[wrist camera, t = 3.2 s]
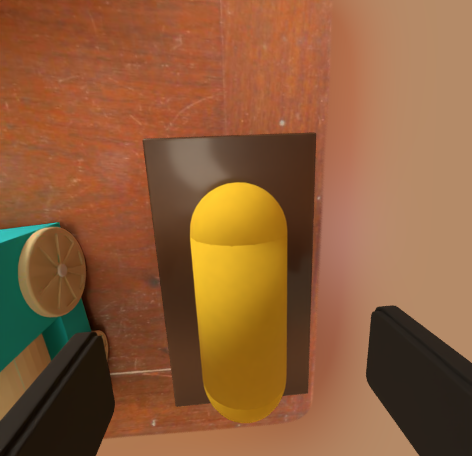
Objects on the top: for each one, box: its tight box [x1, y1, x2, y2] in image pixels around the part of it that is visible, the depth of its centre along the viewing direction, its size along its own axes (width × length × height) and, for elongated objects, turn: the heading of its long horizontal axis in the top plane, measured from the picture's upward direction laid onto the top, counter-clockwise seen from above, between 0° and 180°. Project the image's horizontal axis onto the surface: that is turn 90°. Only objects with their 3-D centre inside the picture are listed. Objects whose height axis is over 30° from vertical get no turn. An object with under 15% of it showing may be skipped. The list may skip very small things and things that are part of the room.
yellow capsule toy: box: [190, 182, 287, 423], centre depth 11 cm, size 11×4×4 cm, turn 2°
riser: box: [143, 132, 316, 407], centre depth 18 cm, size 15×8×9 cm, turn 2°
